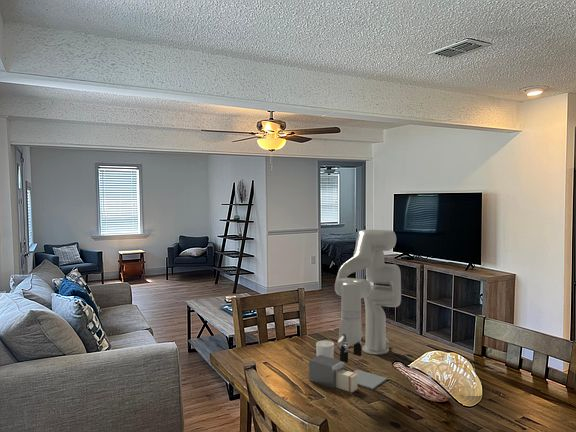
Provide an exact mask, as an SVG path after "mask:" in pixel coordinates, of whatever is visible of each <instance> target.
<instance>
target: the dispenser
mask: <svg viewBox="0 0 576 432" xmlns="http://www.w3.org/2000/svg"><path fill="white" fill-rule="evenodd" d="M345 364H346V363H345V362H341V361H340V359H336V358H334V357H333V358H330V357H326V356H323V355H319V356H317V355H316V356H315V357H313V358H311V359H308V365H309V366H308V367H309V368H308V371H309V372H308V380H309V382H311V383H315V384H318V385H321V386H325V387H327V388H330V389H333V390H335V389H336V388H337V387H336V371H337V370H339V369H343V370H345V366H346V365H345Z"/></svg>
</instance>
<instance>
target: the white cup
mask: <svg viewBox="0 0 576 432" xmlns="http://www.w3.org/2000/svg"><path fill="white" fill-rule="evenodd" d="M334 348H335V343H334V342H333V341H330V340H318V341H317V342H315V350H316V357H317V356H319V355H323V356H326V357H330V358H333V359H334V354H335V353H334V352H335V349H334Z"/></svg>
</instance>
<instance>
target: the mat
mask: <svg viewBox="0 0 576 432" xmlns="http://www.w3.org/2000/svg"><path fill="white" fill-rule="evenodd" d="M353 373H356V374H357V386H360V387H363V388H366V389H368V390H369V389H370V390H371V391H372V390H375V389H376V388H377V387H378V386H380V385H381V384H383V383H384V382H386V381H387V380H388V377H384V376H382V375H381V376H380V375H378V374H374V373H371V372H366V371H364V370H360V369H356V370H354V371H353Z"/></svg>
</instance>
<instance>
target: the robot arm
mask: <svg viewBox="0 0 576 432" xmlns="http://www.w3.org/2000/svg"><path fill="white" fill-rule="evenodd" d="M396 243H397V235H396V233H395V231H394V230H391V229H362V230H360V231H359V232H358V234H357V239H356V243H355V247H354V251H353V256H352V257H351V258H349V259H348V260H347V261H345V262H344V263H343V264H342V265H341V266H340V267H339V269H338V271H337V275H336V278H335V283H334V292H335V294H337V295H338V296H340V298H341V304H340V307H341V311H340V312H341V314H340V317H341V318H340V321H339V327H338V341H337V342H336V343H337V344H336V345H337V346H338V351H339V360H340V361H341V362H345V364H347V363H348V362H349V352H348V350H349V347H350V346H353V355H356V356H359V357H361V356H362V351H363V352H364V353H366V354H370V355H378V356H380V355H385V354H387V353H389V351H390V348H389V347H388V346H387V343H389V338H387V337H386V333H387V332H386V331H387V330H386V328H387V327H386V321H387V319H386V317H387V316H386V313H385V310H384V309H383V308H382V307H388V308H398V307H400V305H401V302H402V281H401V280H402V278H401V277H402V275H401V269H400V267H399V266H398V265H397V264H394V263H393V264H391V263H385V253H384V252H388V251H389V252H390V251H391V250H392V249H394V248H395V246H396ZM365 269H366V271H365V272H366V278H354V277H349V275H351V274H355V273H356V272H359V271H362V270H365ZM371 283H372V284H373V285H372V284H371ZM377 284H378V285H377ZM379 284H380V285H379ZM387 285H389V286H387ZM362 299H363V300H364V307H365V308H364V309H365V332H364V331H363V328H362V327H363V326H362ZM364 333H365V344H364V345H363V340H364ZM362 345H363V346H362Z"/></svg>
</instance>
